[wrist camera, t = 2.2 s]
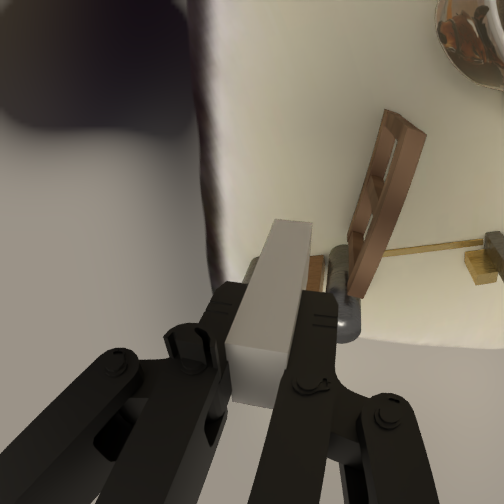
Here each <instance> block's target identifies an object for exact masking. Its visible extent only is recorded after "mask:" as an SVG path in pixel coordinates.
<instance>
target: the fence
mask: <svg viewBox="0 0 504 504" xmlns="http://www.w3.org/2000/svg"><path fill="white" fill-rule="evenodd" d="M478 245H483V239H476V240H468V241H460V242H452V243H444V244H436V245H428V246H419V247H411V248H402V249H394V250H385V251H384V254H383V256H382V257H388V256H397V255H405V254H414V253H422V252H430V251H438V250H446V249H454V248H462V247H470V246H478ZM258 260H259V257H256V258H254V259H253V260H252V261H251V263H250V265H249V268H248V270H247V272H246V275H245V277H244V279H243V281H242V283H244V284H249V282H250V279H251V277H252V274H253V272H254V270H255V267H256V265H257V262H258ZM324 272H325V261H324V256H323V255H318V256H310V259H309V270H308V280H307V286H306V290H308V291H316V292H322V290H323V281H324ZM348 280H349V248H348V245H339V246H336V247H335V248H333V249H332V250H331V252H330V254H329V263H328V274H327V285H326V293H333V295H334V297H335V299H336V301H337V302H338V304H339V307H338V327H337V342H336V343H341V344H343V343H348V342H351V341H354V340H355V339H356V338H357V337H358V336H359V335H360V333H361V300H360V298H357V297H353V296H349V295H347V283H348Z"/></svg>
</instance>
